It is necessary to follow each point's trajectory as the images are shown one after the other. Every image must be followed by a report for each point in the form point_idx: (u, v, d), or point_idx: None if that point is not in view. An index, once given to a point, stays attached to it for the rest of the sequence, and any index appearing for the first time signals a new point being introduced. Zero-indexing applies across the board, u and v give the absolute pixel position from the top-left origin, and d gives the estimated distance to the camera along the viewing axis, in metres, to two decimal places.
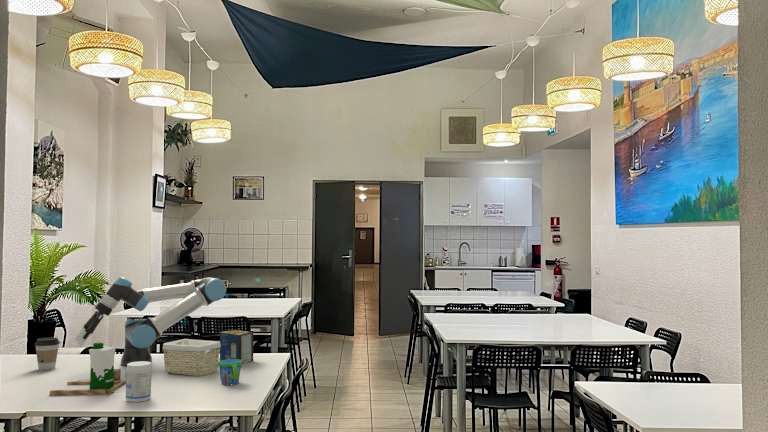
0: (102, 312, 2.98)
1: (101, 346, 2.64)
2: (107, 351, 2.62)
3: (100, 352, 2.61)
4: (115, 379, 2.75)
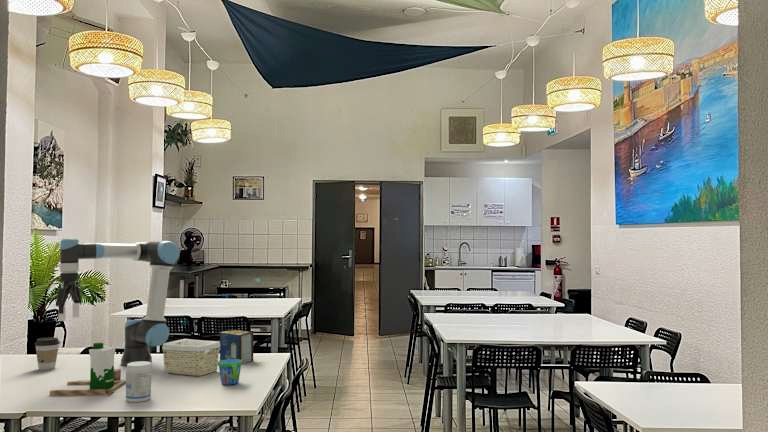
0: (65, 280, 2.76)
1: (101, 346, 2.64)
2: (107, 351, 2.62)
3: (100, 352, 2.61)
4: (115, 379, 2.75)
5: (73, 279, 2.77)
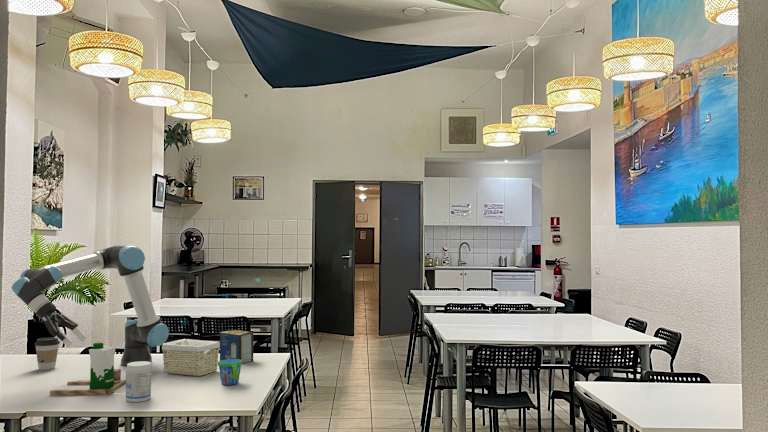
0: (44, 314, 2.61)
1: (101, 346, 2.64)
2: (107, 351, 2.62)
3: (100, 352, 2.61)
4: (115, 379, 2.75)
5: (50, 308, 2.62)
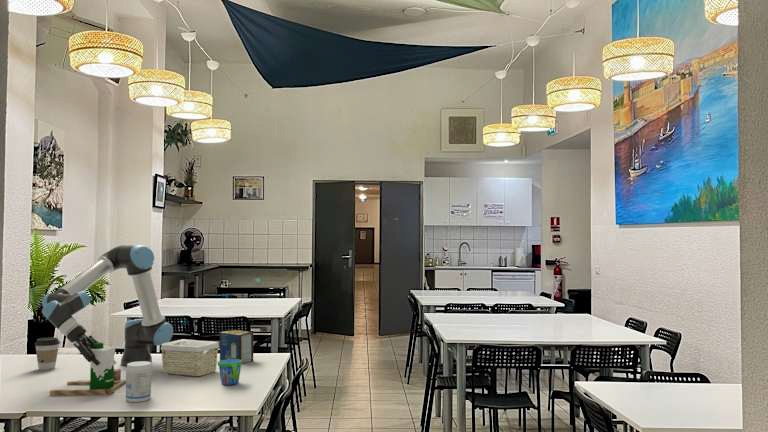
0: (75, 337, 2.61)
1: (101, 346, 2.64)
2: (107, 351, 2.62)
3: (100, 352, 2.61)
4: (115, 379, 2.75)
5: (80, 331, 2.62)
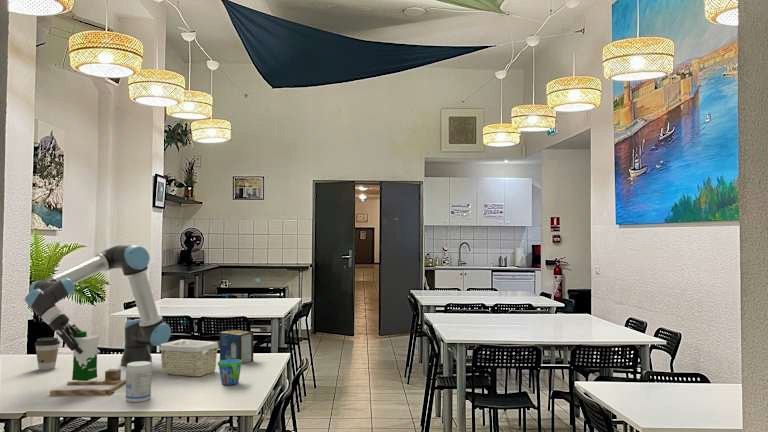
0: (58, 326, 2.60)
1: (84, 335, 2.64)
2: (90, 340, 2.62)
3: (83, 341, 2.60)
4: (115, 379, 2.75)
5: (63, 320, 2.62)
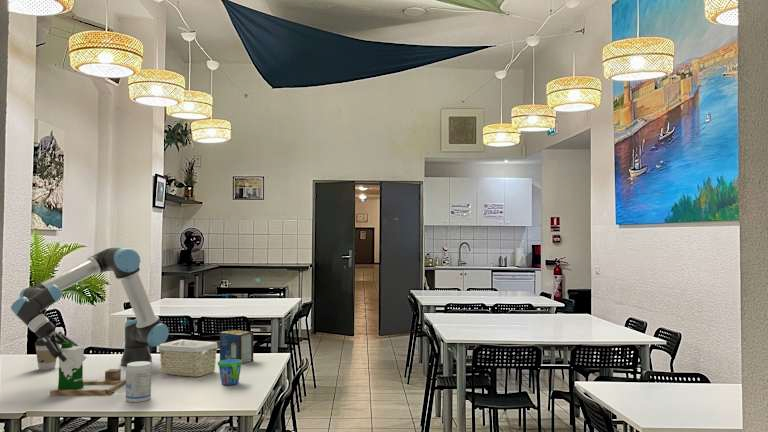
0: (43, 334, 2.60)
1: (69, 345, 2.64)
2: (75, 350, 2.61)
3: (68, 352, 2.60)
4: (115, 379, 2.75)
5: (49, 328, 2.62)
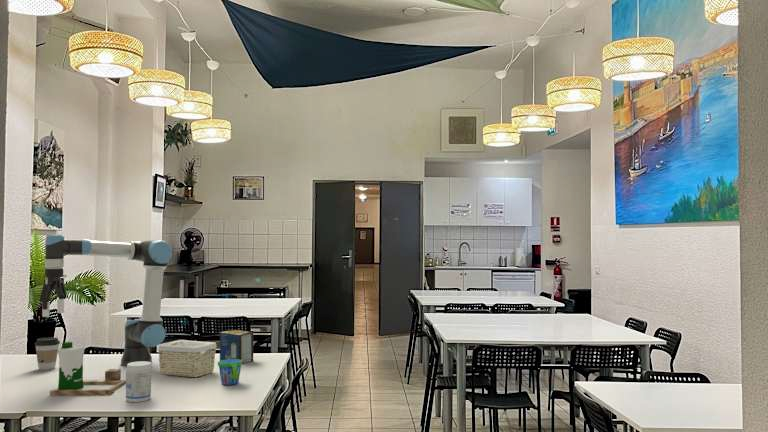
0: (50, 276, 2.76)
1: (70, 345, 2.64)
2: (76, 350, 2.61)
3: (68, 352, 2.60)
4: (115, 379, 2.75)
5: (58, 275, 2.78)
